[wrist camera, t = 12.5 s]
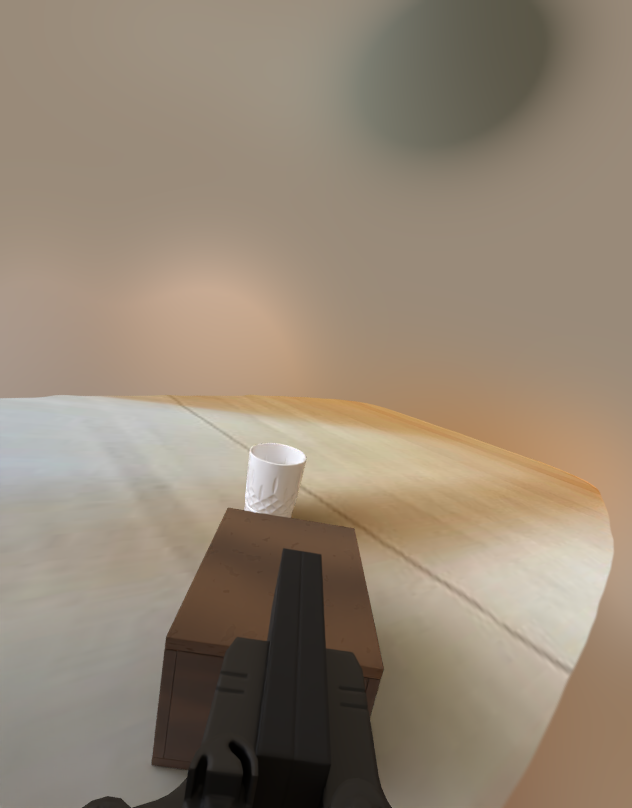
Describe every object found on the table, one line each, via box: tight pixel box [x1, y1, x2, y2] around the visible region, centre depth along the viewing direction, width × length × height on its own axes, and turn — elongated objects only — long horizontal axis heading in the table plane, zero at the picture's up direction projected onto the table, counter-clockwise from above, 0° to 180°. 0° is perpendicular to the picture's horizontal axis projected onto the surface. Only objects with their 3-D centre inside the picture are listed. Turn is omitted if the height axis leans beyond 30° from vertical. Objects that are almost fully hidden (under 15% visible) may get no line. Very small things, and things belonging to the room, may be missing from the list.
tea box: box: [151, 648, 380, 770], centre depth 27 cm, size 13×12×9 cm
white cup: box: [244, 443, 307, 518], centre depth 49 cm, size 8×8×10 cm
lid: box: [165, 508, 384, 679], centre depth 27 cm, size 14×12×1 cm
